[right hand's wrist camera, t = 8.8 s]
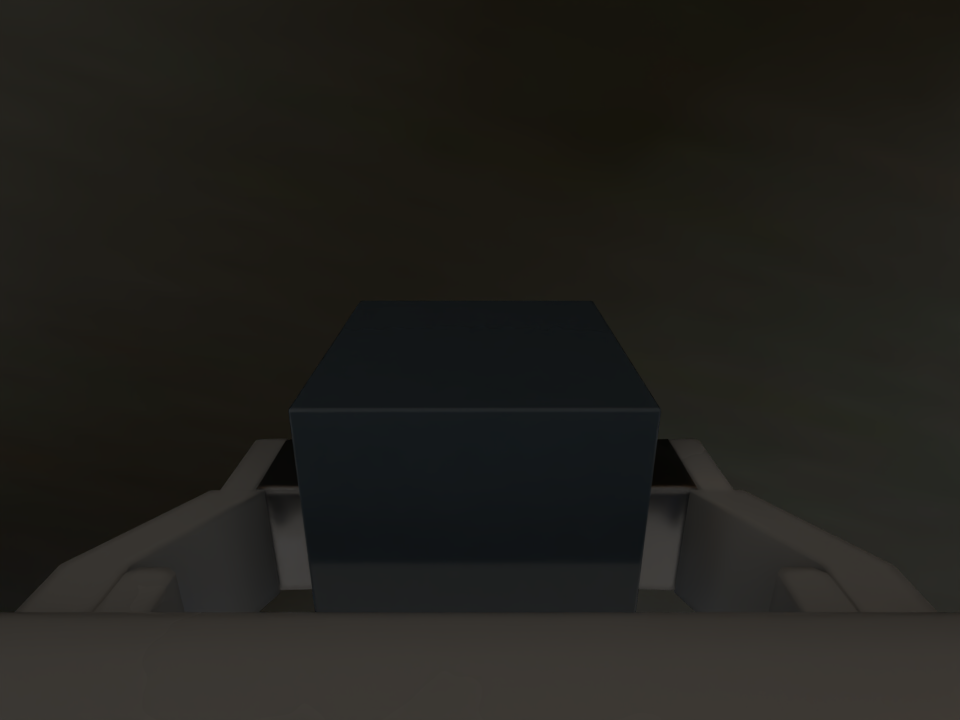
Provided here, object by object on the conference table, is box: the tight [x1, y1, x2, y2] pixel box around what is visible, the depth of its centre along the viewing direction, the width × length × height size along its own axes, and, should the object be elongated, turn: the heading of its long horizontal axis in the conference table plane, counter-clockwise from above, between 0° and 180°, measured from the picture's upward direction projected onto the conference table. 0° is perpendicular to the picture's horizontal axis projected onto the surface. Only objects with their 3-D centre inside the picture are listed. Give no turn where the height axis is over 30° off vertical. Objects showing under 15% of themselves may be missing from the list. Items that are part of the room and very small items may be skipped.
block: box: [288, 301, 661, 612], centre depth 10 cm, size 5×4×5 cm
